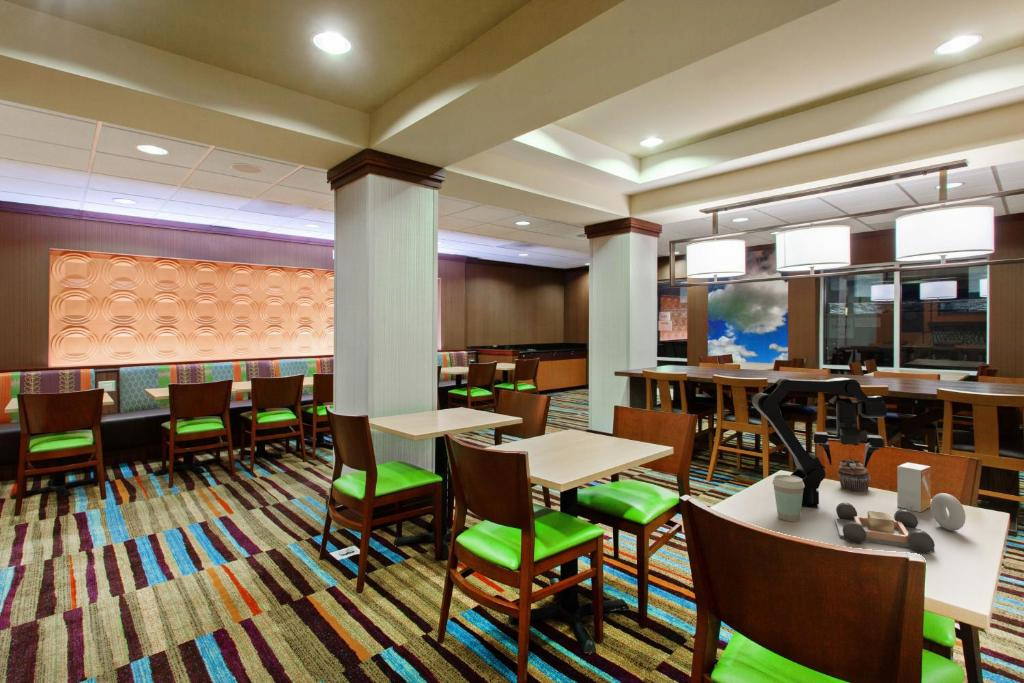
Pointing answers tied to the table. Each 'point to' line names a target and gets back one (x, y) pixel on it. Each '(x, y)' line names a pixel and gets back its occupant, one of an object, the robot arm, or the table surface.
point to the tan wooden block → (880, 522)
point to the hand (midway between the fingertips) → (847, 466)
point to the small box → (914, 486)
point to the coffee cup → (788, 496)
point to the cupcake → (853, 476)
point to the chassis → (903, 532)
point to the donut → (954, 508)
